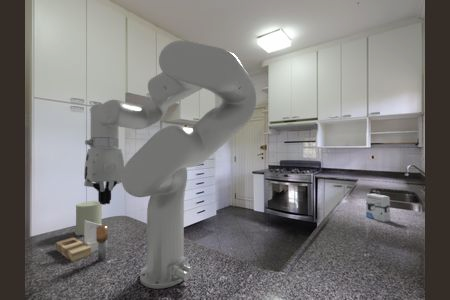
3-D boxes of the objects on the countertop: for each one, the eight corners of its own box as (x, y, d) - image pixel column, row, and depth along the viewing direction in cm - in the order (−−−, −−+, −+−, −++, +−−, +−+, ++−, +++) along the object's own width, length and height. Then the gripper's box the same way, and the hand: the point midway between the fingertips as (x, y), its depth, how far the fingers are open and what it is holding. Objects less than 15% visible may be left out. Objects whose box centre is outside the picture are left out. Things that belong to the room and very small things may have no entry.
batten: (91, 254, 63) (91, 247, 63) (72, 261, 59) (72, 253, 59) (73, 243, 71) (73, 237, 71) (55, 249, 67) (55, 242, 67)
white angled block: (68, 247, 63) (84, 220, 67) (98, 252, 70) (111, 227, 74) (72, 251, 61) (89, 222, 64) (102, 255, 68) (116, 229, 71)
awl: (109, 259, 61) (109, 226, 61) (98, 263, 58) (99, 229, 58) (104, 256, 62) (105, 224, 63) (94, 260, 60) (94, 227, 60)
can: (99, 233, 81) (99, 203, 81) (71, 237, 77) (72, 206, 77) (103, 226, 89) (104, 199, 89) (79, 228, 86) (79, 201, 86)
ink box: (365, 216, 102) (365, 193, 102) (372, 215, 103) (372, 193, 104) (383, 222, 94) (382, 197, 94) (390, 221, 95) (390, 196, 95)
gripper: (81, 143, 54) (81, 211, 53) (134, 145, 66) (134, 200, 65) (71, 144, 58) (71, 207, 58) (122, 146, 70) (122, 198, 70)
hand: (104, 203), depth 61 cm, fingers closed
